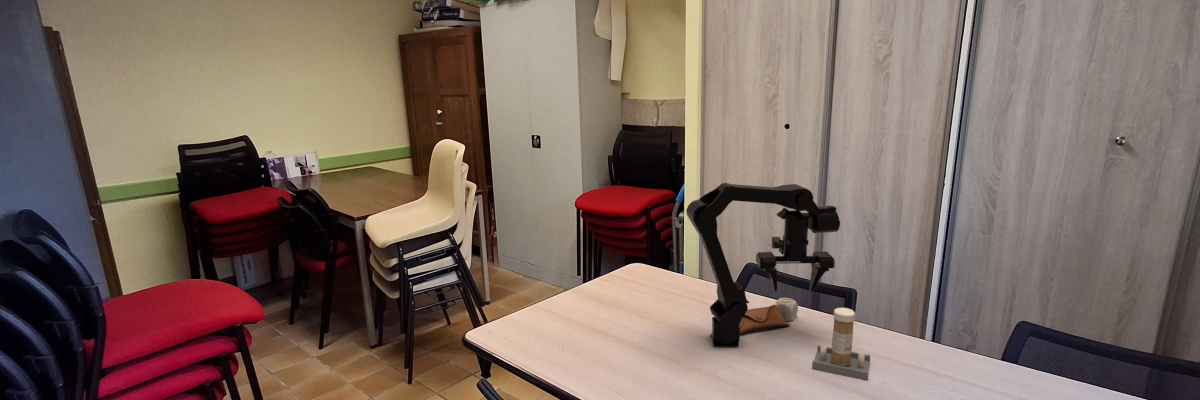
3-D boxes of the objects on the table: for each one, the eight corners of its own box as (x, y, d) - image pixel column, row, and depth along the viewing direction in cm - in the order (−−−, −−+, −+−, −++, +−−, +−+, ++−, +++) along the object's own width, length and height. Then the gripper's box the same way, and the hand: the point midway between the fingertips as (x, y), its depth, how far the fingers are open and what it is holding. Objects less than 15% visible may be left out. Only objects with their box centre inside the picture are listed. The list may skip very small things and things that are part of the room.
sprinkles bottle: (844, 357, 138) (848, 306, 135) (854, 366, 134) (859, 314, 131) (826, 358, 138) (830, 307, 135) (836, 368, 133) (840, 315, 130)
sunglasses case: (736, 336, 151) (730, 311, 153) (724, 338, 157) (718, 314, 159) (793, 325, 156) (786, 301, 158) (779, 327, 163) (773, 304, 164)
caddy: (812, 368, 135) (812, 354, 134) (817, 351, 143) (818, 337, 142) (867, 380, 129) (868, 365, 128) (869, 361, 137) (871, 347, 136)
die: (774, 318, 162) (774, 301, 161) (780, 312, 166) (781, 296, 165) (791, 322, 159) (792, 306, 158) (797, 316, 163) (798, 300, 162)
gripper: (822, 225, 152) (819, 279, 155) (752, 225, 153) (750, 280, 156) (837, 237, 141) (833, 295, 144) (761, 237, 142) (759, 295, 146)
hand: (793, 290), depth 148 cm, fingers open, 9 cm apart
